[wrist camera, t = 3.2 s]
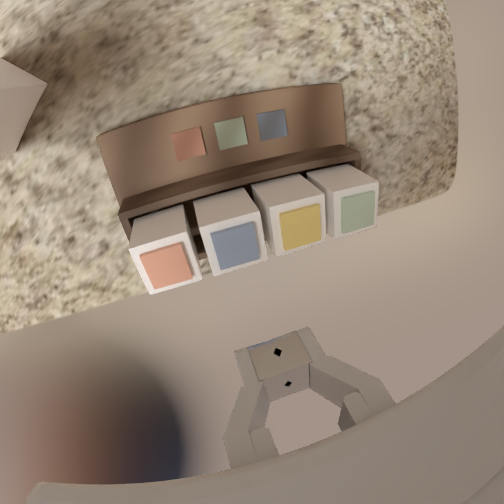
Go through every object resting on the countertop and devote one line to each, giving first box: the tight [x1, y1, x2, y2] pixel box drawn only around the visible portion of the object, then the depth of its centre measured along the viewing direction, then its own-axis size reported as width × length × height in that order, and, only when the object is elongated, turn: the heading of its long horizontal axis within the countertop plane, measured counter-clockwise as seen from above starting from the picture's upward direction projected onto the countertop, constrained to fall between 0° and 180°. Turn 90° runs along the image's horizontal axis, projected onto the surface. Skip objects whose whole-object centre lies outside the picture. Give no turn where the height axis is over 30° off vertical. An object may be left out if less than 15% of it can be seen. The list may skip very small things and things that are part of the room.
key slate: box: [193, 188, 268, 276], centre depth 18 cm, size 3×3×4 cm
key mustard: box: [251, 174, 326, 257], centre depth 19 cm, size 3×3×4 cm
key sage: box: [307, 164, 379, 240], centre depth 19 cm, size 3×3×4 cm
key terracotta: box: [128, 204, 203, 295], centre depth 18 cm, size 3×3×4 cm
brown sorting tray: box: [96, 83, 361, 260], centre depth 20 cm, size 18×11×4 cm, turn 100°
